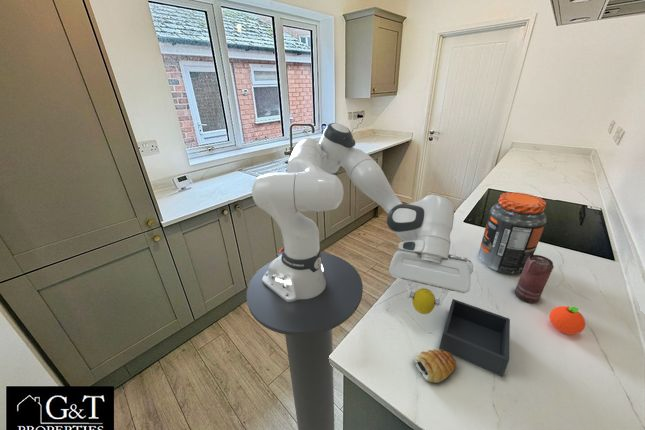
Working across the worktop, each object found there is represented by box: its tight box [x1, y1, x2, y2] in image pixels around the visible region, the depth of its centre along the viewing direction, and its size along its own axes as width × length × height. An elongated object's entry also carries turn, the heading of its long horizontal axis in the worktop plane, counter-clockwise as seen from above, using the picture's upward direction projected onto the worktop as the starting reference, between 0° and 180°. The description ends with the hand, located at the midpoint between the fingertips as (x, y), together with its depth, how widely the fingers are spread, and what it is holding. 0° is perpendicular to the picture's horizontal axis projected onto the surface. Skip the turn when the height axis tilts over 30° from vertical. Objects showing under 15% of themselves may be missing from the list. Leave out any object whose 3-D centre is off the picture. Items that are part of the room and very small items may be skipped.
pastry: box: [413, 349, 457, 383], centre depth 61 cm, size 9×7×4 cm
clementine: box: [549, 305, 586, 335], centre depth 69 cm, size 8×7×7 cm
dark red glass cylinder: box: [514, 254, 554, 304], centre depth 78 cm, size 6×6×14 cm
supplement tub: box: [478, 191, 548, 275], centre depth 91 cm, size 16×16×26 cm
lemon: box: [412, 288, 436, 315], centre depth 69 cm, size 6×6×8 cm
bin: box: [438, 298, 511, 377], centre depth 67 cm, size 14×14×6 cm
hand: (423, 301), depth 68 cm, fingers closed on lemon, 5 cm apart
